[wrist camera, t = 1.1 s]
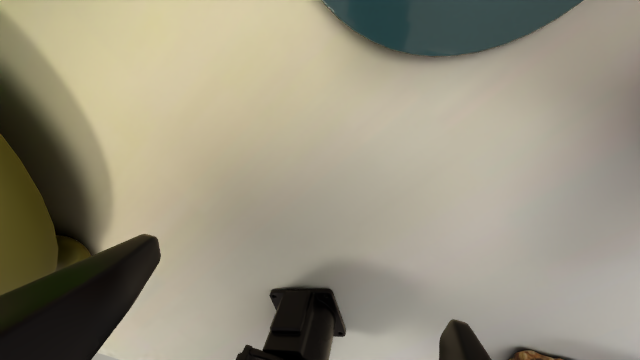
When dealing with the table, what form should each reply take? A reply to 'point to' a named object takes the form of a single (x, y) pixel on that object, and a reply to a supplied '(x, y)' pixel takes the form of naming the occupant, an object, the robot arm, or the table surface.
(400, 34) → the plate
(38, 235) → the spaceship
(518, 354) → the bread
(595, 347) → the table surface
